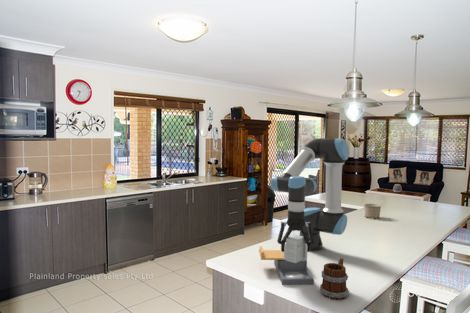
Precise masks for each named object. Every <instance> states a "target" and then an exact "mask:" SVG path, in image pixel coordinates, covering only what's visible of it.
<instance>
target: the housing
mask: <svg viewBox="0 0 470 313" xmlns="http://www.w3.org/2000/svg"><path fill="white" fill-rule="evenodd" d="M273 261H274V262H273V264H274V267H275V269H276V272H277V276H278V278H279V280H280V282H281V285H282V286H284V285H286V286H314V284H315V283H314V282H315V279H314V278H313V275H312V274H311V272H310V271H309V269H308V268H307V267H308V259H307V260H305V258H304V259H302V260H301V261H299V262H297V263H293V262H290V261H286V260H273Z"/></svg>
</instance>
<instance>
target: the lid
mask: <svg viewBox="0 0 470 313" xmlns="http://www.w3.org/2000/svg"><path fill="white" fill-rule="evenodd" d="M258 253H259V257H260V260H261V261H274V260H286V259H284V258H283V252H282V251H281V249H263V246H262V245H261V246H259V249H258Z"/></svg>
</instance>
